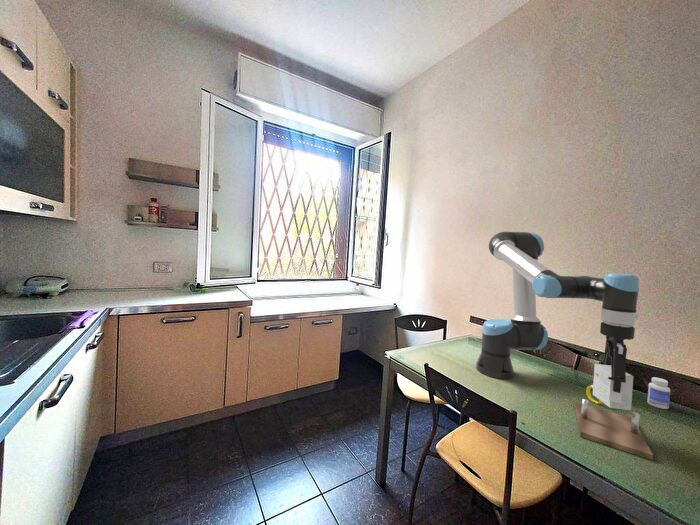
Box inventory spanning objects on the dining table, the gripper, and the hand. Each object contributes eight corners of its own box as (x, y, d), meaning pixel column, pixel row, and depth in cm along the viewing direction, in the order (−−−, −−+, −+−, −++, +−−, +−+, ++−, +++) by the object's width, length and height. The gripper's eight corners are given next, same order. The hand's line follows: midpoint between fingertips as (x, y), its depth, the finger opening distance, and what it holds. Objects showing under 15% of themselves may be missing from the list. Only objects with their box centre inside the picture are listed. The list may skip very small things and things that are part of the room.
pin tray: (580, 436, 82) (582, 412, 82) (574, 406, 99) (575, 385, 98) (652, 460, 74) (655, 433, 73) (632, 422, 90) (634, 400, 90)
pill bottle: (672, 411, 98) (675, 384, 97) (652, 407, 100) (655, 381, 99) (661, 402, 103) (664, 377, 102) (643, 399, 105) (645, 375, 104)
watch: (605, 406, 100) (607, 391, 99) (597, 406, 99) (600, 391, 99) (590, 396, 105) (592, 382, 105) (583, 396, 105) (585, 382, 105)
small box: (631, 411, 81) (634, 376, 80) (609, 408, 82) (612, 374, 82) (611, 396, 89) (614, 365, 88) (591, 394, 90) (594, 363, 89)
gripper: (645, 334, 73) (638, 416, 74) (625, 318, 91) (619, 384, 92) (607, 329, 77) (601, 406, 79) (595, 315, 95) (590, 377, 97)
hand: (611, 394), depth 85 cm, fingers closed on small box, 9 cm apart
